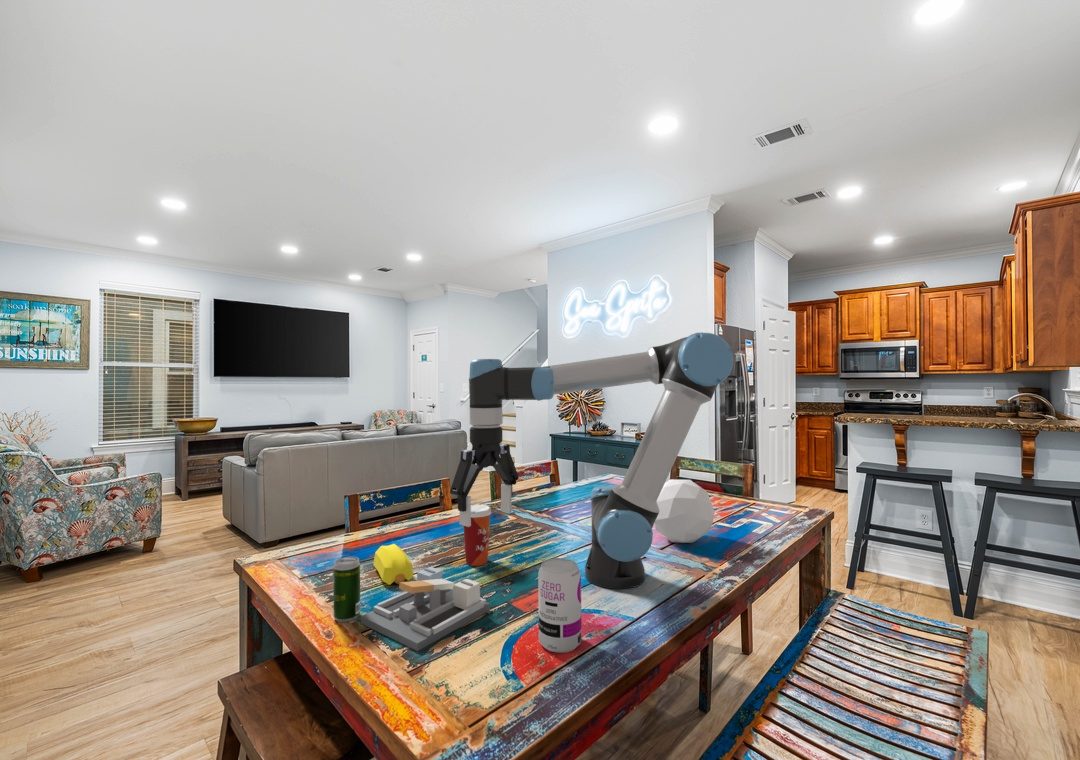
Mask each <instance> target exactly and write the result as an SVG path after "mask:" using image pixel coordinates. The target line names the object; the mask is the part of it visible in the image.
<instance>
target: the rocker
mask: <svg viewBox="0 0 1080 760" xmlns="http://www.w3.org/2000/svg"><path fill="white" fill-rule="evenodd" d="M454 584H455V582H454V581H450V580H447V579H444V578H442V579H432V580H421V581H417V580H411V581H410V580H409V581H404V582H400V584H398V589H399V590H402V591H404V592H409V593H419V592H427V593H431V592H434V591H436V590H438V589H439V590H445V589H452V590H454Z"/></svg>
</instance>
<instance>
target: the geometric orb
mask: <svg viewBox="0 0 1080 760" xmlns="http://www.w3.org/2000/svg"><path fill="white" fill-rule="evenodd" d="M709 495H710V494H709V493H708V491H706V490H705V489H704V488H703V487H701V486H700V485H698V484H697V483H696V482H693V481H692V479H673V478H672V479H669V480H666V482H665V484H664V486H663V488H662V490H661V492H660V495H659V497H658V499H657V505H658V507H659V510H660V512H659V514H658V516H657V518H656V520H655V523H654V525H653V526H654V530H655V531H657V532H658V533H660V534H661V535H662V536H663V537H665V538H666V539H667V540H669V541H670V542H671V543H685V544H686V543H689V544H693V543H694V542H696V541H697V540H699V539H700V538H702V537H703V536H705V535H706V534H707V533H709V532H710V530H711V528H712V525H713V524H714V518H715V509H714V507H713V503H712V501H711V498H710V496H709Z"/></svg>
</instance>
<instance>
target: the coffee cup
mask: <svg viewBox="0 0 1080 760" xmlns="http://www.w3.org/2000/svg"><path fill="white" fill-rule="evenodd" d="M490 508H491V507H490V506H487V505H482V504H475V505H474V504H473V505H471V526H469V527H467V526H463V525H462V527H463V536H464V537H463V539H464V540H463V541H464V553H465V556H464V557H465V564H466V565H468V566H471V567H480V566H484V565H486V564H487V563H488V559H489V543H490V525H491V524H490V522H491V519H490V518H491V514H492V511H491V509H490Z"/></svg>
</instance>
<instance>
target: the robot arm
mask: <svg viewBox="0 0 1080 760" xmlns="http://www.w3.org/2000/svg"><path fill="white" fill-rule="evenodd" d="M734 360H735V359H734V355H733V350H732V349H731V347H730V345H729V343H728V342H727V341H726V340H725V339H724V338H722V337H721V336H719V335H718V334H715V333H710V332H694V333H692V334H690V335H688V336H685V337H681V338H680V339H676V340H674V341H672V342H669V343H665V344H661V345H656V346H651V347H649V348H648V349H647V350H646V351H643V352H636V353H629V354H623V355H622V354H621V355H615V356H609V357H608V356H607V357H601V358H596V359H587V360H580V361H575V362H567V363H561V364H560V363H558V364H553V365H546V366H536V367H535V366H531V367H506V366H505V367H504V366H503V363H502V360H501V359H499V358H476V359H473V360H471V361H470V362H469V377H468V387H469V392H468V393H469V397H468V398H469V425H471V427H470V428H469V443H470V444H471V450H470V449H469V450H468V449H462V450H461V452H460V459H459V464H458V466H457V468H456V472H455V474H454V477H453V478H454V479H453V481H452V483H451V487H450V489H449V493H450V494H451V495H454V496H457V511H458V512H459V525H460V526H462V527H463V526H467V527H469V526H471V506H472V505H471V504H472V502H471V501H472V499H471V498H472V497H471V496H470V495H469V493H470V491H471V490H472V488H473V486H474V484H475V481H476V480H477V478H478V476H479V475H480V472H481V471H483V469H485V468H488V467H493V469H494V471H495V472H496V473H497V474H498V477H499V478H500V479H501V481H502V482H503V483H501V484H500V512H504V513H508V514H509V513H512V510H513V509H512V508H513V507H512V504H513V503H512V498H513V485H514V486H516V484H517V481H519V478H520V477H519V473H518V472H517V469H516V465H515V463H514V460H513V457H512V454H511V448H510V444H509V443H502V442H503V427H502V426H501V425H502V424H503V423H504V422H503V420H504V419H503V401H511V400H512V401H540V402H541V401H543V400H546V401H547V400H548V401H549V400H551V399H553V398H554V395H560V394H567V393H568V394H569V393H574V392H575V393H576V392H581V391H582V392H583V391H584V392H585V391H591V390H596V389H604V388H611V387H619V386H625V385H632V384H641V383H647V382H651V383H653V384H654V385H661V384H662V385H663V387H664V390H663V393H662V395H661V396H660V397H661V398H660V399H659V401H658V404H657V406H656V408H655V410H654V412H653V415H652V417H651V419H650V421H649V423H648V424H647V427H646V429H645V432H644V434H643V437H642V438H641V441H640V443H639V445H638V447H637V449H636V451H635V454H634V456H633V458H632V460H631V462H630V464H629V466H628V469H627V470H626V474H625V476H624V478H623V480H622V482H621V483H620V484H618V485H602V486H595V487H593V488H592V490H591V494H590V495H591V496H590V501H591V547H590V550H589V553H588V557H587V559H586V563H585V565H584V567H585V568H584V576H585V578H586V580H587V581H588V582H589V583H591V584H593V585H596V586H597V587H602V588H606V589H616V590H617V589H618V590H619V589H623V590H624V589H630V588H635V587H637V586H640V585H642V584H643V583H644V582H645V579H646V576H645V575H646V572H645V571H646V569H645V566H644V563H643V560H642V557H643V556H645V555H646V554H647V553H648V551H649V550H650V548H651V546H652V544H653V535H654V533H653V526H654V523H655V520H656V518H657V516H658V514H659V512H660V510H659V507H658V505H657V499H658V497H659V495H660V492H661V490H662V488H663V486H664V484H665V483H666V482H667V479H668V477H669V475H670V472H671V470H672V468H673V466H674V464H675V462H676V459H677V458H678V455H679V453H680V451H681V449H682V447H683V445H684V442H685V441H686V439H687V436H688V435H689V432H690V430H691V427H692V425H693V423H694V421H695V419H696V416H697V414H698V412H699V411H700V407H701V406H702V405H703V404H706V403H708V402H711V401H712V398H713V396H714V394H715V392H716V389H717V387H718V386H719V384H721V383H723V382H724V381H725V380H726V379H727V378H728V377H729V376H730V374H731V373H732V370H733V367H734Z"/></svg>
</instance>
